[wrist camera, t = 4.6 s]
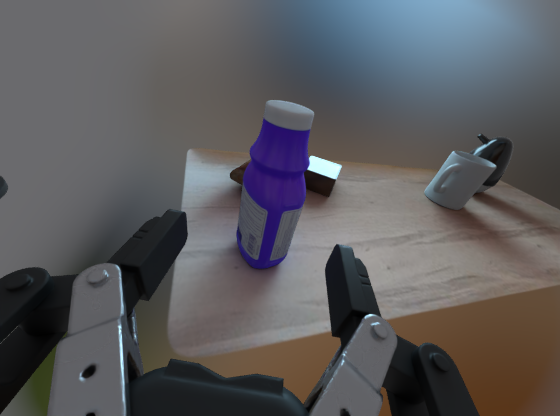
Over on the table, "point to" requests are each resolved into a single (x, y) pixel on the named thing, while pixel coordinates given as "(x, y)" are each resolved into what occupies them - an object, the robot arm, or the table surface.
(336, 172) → the walnut block
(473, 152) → the pump dispenser
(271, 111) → the bottle
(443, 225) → the table surface
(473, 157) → the mug
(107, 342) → the robot arm
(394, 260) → the table surface
